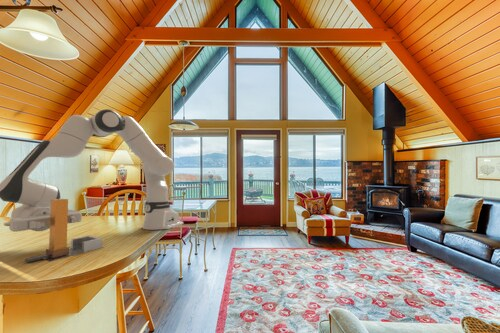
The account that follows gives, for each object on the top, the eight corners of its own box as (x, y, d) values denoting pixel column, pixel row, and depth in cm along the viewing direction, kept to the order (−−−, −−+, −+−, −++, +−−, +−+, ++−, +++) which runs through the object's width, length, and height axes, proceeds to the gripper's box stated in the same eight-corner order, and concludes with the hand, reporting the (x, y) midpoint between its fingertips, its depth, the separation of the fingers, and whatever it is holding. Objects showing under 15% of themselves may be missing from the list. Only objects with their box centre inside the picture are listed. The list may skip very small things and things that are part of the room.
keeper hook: (89, 244, 96) (89, 235, 96) (102, 247, 91) (102, 238, 91) (71, 248, 90) (71, 239, 90) (83, 252, 86) (84, 242, 86)
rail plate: (90, 245, 96) (90, 243, 96) (103, 249, 92) (103, 247, 92) (37, 258, 81) (37, 256, 81) (49, 263, 77) (49, 261, 77)
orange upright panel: (62, 251, 86) (64, 198, 86) (69, 253, 83) (70, 199, 84) (22, 261, 76) (25, 201, 77) (29, 264, 74) (31, 202, 75)
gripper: (2, 214, 81) (19, 218, 74) (71, 207, 98) (89, 209, 92) (1, 233, 80) (18, 239, 74) (70, 222, 98) (89, 226, 92)
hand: (58, 222), depth 83 cm, fingers open, 8 cm apart
